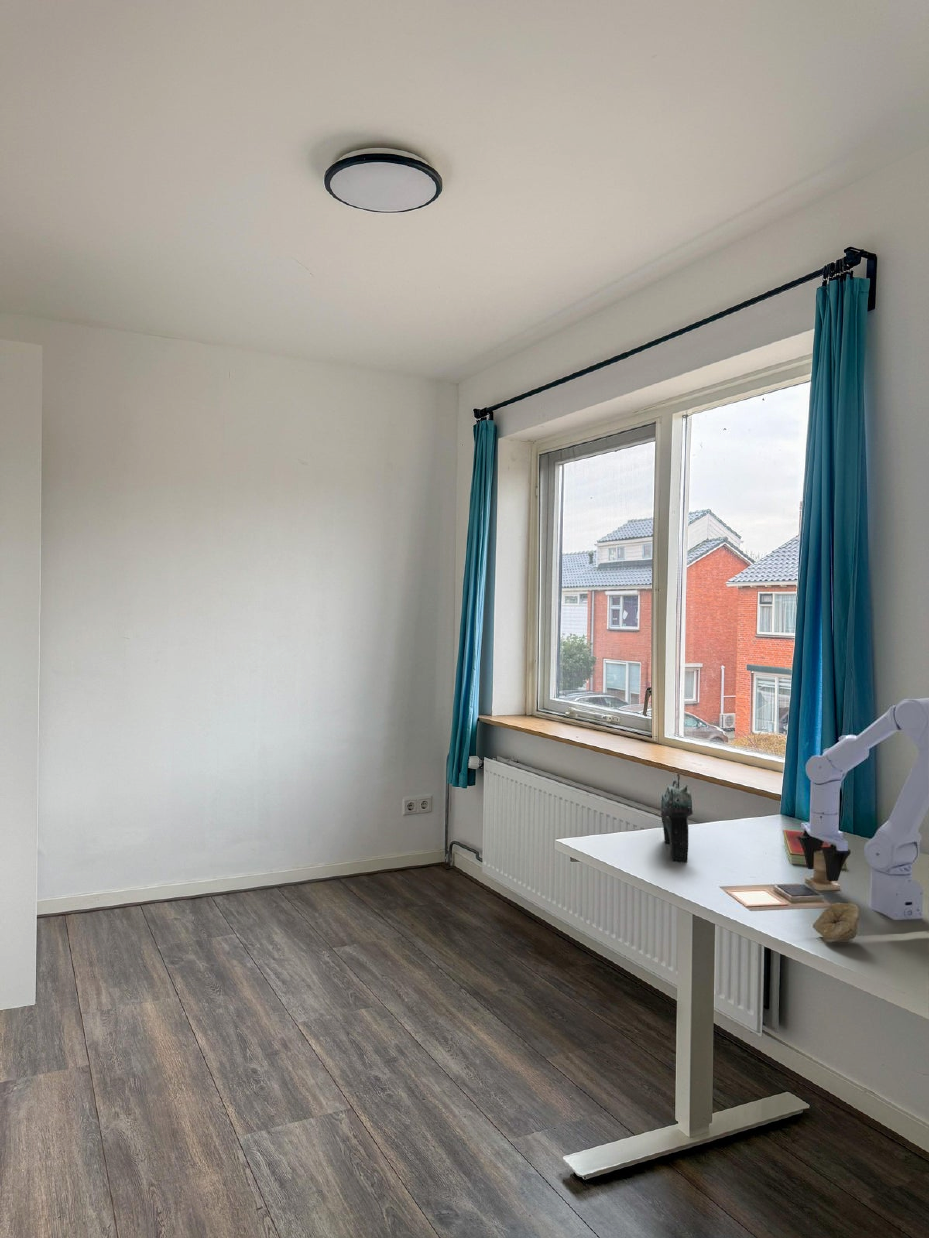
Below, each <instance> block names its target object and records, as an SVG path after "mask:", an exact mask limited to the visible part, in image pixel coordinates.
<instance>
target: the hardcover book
mask: <svg viewBox="0 0 929 1238" xmlns="http://www.w3.org/2000/svg"><path fill="white" fill-rule="evenodd" d="M782 833H783V845H784V844H785V845H784V848H785V847H786V848H785V851H787V852H786V854H788V855H787V857H789V858H788V861H789V860H790V861H789V864H791V865H793V864H794V865H804V866H807V864H806V860H805V855H804V851H803V848H802V846H801V843H800V841H799V840H798V835H803V834H804V832H801V830H792V829H782ZM822 847H830V845H829V844H828V843H826V842H823V845H822ZM821 851H822V850H821ZM846 861H847V860H846ZM846 861H845V862H844V864H843V867H842V869H843V870H845V871H846V870H847V863H846Z"/></svg>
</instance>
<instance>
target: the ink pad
mask: <svg viewBox="0 0 929 1238" xmlns="http://www.w3.org/2000/svg"><path fill="white" fill-rule="evenodd" d="M798 884H799V885H776V886H774V891H775V892H777V893H778V894H780V895H781V896H783V897H784V898H786V899H787V900H789V901H790V902H809V901H823V900H824V895H823V894H821V893H819V892H817V891H816V890H814V888H813V889H812V888H811V887H809V885H808V886H807V884H806V883H805V884H804V883H803V884H801V883H798Z"/></svg>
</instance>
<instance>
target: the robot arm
mask: <svg viewBox="0 0 929 1238" xmlns="http://www.w3.org/2000/svg"><path fill="white" fill-rule="evenodd" d="M900 730H901V731H903V732H904V733H905V735H906V736H907V737H908V738H909V740H911V742H913V744H914V745H915V746H916V748H917V750H918V755H917V757H916V759H915V761H914V764H913V766H912V767H911V769H910V772H909V774H908V776H907V779H906V781H905V783H904V785H903V787H902V789H901V792H900V794H899V796H898V798H897V800H896V802H895V804H894V807H893V809H892V811H891V813H890V816H889V817H888V820H887V821H886V822H885V823H884V824H883V825H882V826H880V827H879V828H878V829H877V830H876V832H875V834H874V835H873V837H872V838H870V839H868V840H867V841H866V842H865V844H864V848H863V855H864V858H865V860H866V862H867V863H868V865H869V869H870V893H869V896H870V897H869V908H870V909H872V910H873V911H875V912H877V913H881V914H883V915H885V916H886V917H888V918H890V919H891V920H895V921H899V920H922V919H923V900H924V897H923V894H924V893H923V888H922V887H923V886H921V883H920V882H919V881H917V880H916V879H915V878H914V875H913V873H912V871H913V866H914V865H913V863H915V862H917V860H918V859H919V856H920V843H921V840H922V838H923V837H922V834H921V833H920V832H919V829H920V827H921V825H922V823H923V820H924V819H925V817H926V814H927V812H928V811H929V697H925V698H906V699H903V700H901V701H900V702H899V703H898V704H896V705H895V704H894V705H893V706H891V707H890V708H889V709H888V710H887V711H886V712H885V713H884V714H883V715H881V716H880V717H879V718H878V719H876V720H875V721H874V722H872V723H871V724H870V725H869V726H867V728H865V729H864V730H862V732H860V733H859V734H858V735H855V734H848V735H846V734H845V735H841V736H839V737H838V742H837V743H835V744H834V745H833V746H831V747H830V748H829V747H828V748H824V749H823V750H822V752H823V753H822V755H812V756H810V758H809V759H808V760H807V762H806V763H805V773H806V776H807V777H808V779H809V780H810V795H809V796H810V800H809V801H810V802H809V822H801V823H800V831H801V832H804V834H803V835H798V840H799V841H800V843H801V846H802V848H803V851H804V855H805V860H806V864H807V865H806V868H807V869H808V870H814V852H816V851H821V850H822V852H823V855H824V859H825V864H826V876H827V880H828V881H834V882H838V881H839V878H840V875H841V872H842V869H843V868H842V867H843V864H844V862H845V861H847V859H848V858H849V857H850V855H851V852H852V851H851V850H852V849H850V848H849V841H847V840H846V839H845V838H844V837H843V836H844V833H843V831H840V830H839V824H840V823H839V822H840V791H841V788H842V782H843V781H844V779H845V778H846V776H847V773H848V772H849V771H851V770H852V769H853V768H855V767H856V766H858V765H859V764H861V763H862V762H863V761H865V760H866V759H868V758H869V756H870V749H871V748H873V747H874V746H876V745H877V744H879V743H880V742H882V741H884V740H885V739H887V738H889V737H890V736H892V735H894V734H895V733H897V732H899V731H900ZM823 842H826V843H828V844H829V845H830V847H822V845H823Z"/></svg>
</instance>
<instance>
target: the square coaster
mask: <svg viewBox="0 0 929 1238" xmlns="http://www.w3.org/2000/svg"><path fill="white" fill-rule="evenodd" d="M724 892H725V893H726V892H727V894H728V895H729V896H730V895H731V896H730V897H732V898H733V899H734V898H735V899H734V900H735V901H737V902H738V901H739V902H738V903H739V904H741V905H742V906H743V905H744V907H745V908H746V907H759V906H782V905H788V904H787V903H786V902H784V901H783V900H781V899H780V898H778V897H777V896H775V895H774V894H772V893H771V892H770V891H768V890H767V889H748V890H725V891H724Z"/></svg>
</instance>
